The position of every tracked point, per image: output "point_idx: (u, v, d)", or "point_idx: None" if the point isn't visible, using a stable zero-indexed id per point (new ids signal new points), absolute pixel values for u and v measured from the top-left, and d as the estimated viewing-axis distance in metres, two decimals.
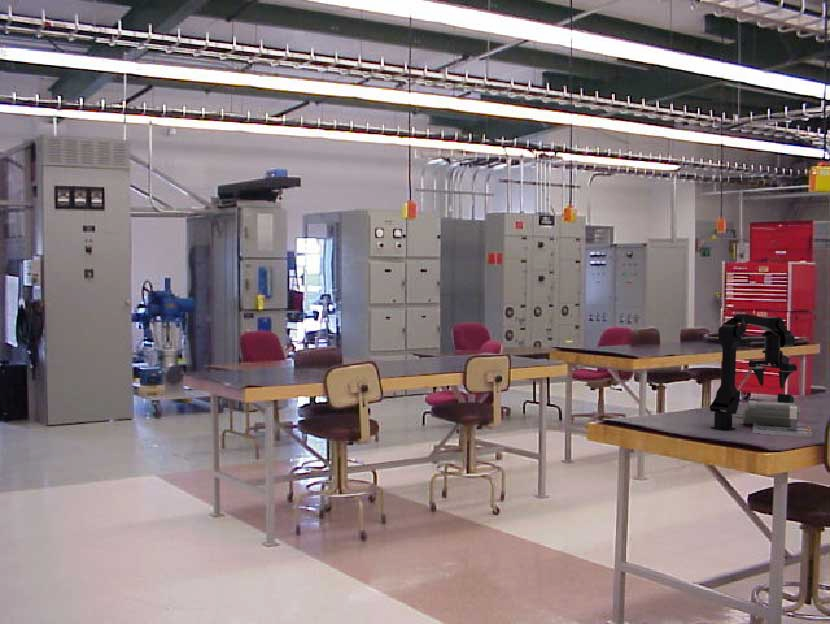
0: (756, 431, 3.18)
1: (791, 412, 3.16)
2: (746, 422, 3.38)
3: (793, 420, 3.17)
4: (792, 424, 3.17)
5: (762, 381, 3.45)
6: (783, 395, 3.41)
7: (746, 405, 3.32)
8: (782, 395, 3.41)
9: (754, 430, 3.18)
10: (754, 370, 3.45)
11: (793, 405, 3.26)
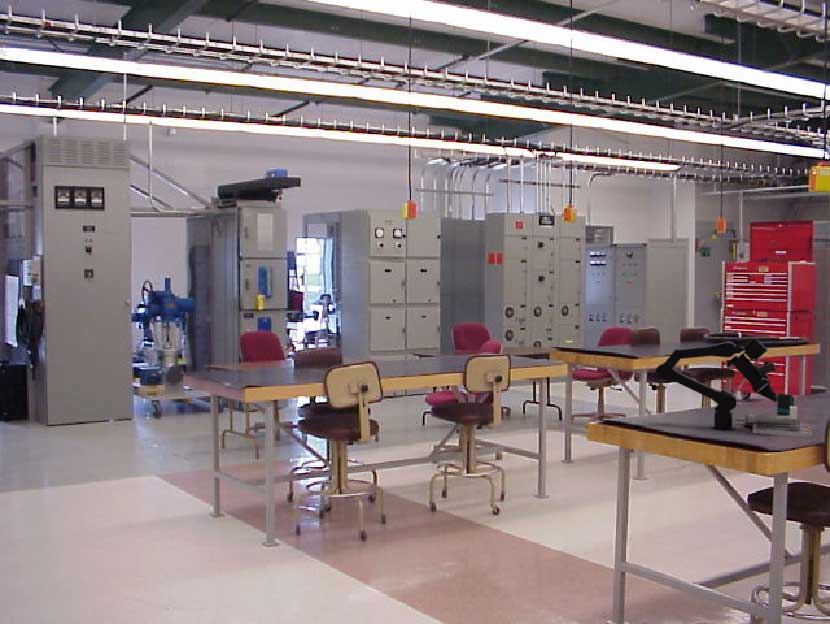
0: (756, 431, 3.18)
1: (791, 412, 3.16)
2: None
3: (793, 420, 3.17)
4: (792, 424, 3.17)
5: (773, 394, 3.24)
6: (783, 395, 3.41)
7: (746, 417, 3.30)
8: (782, 395, 3.41)
9: (754, 430, 3.18)
10: None
11: None
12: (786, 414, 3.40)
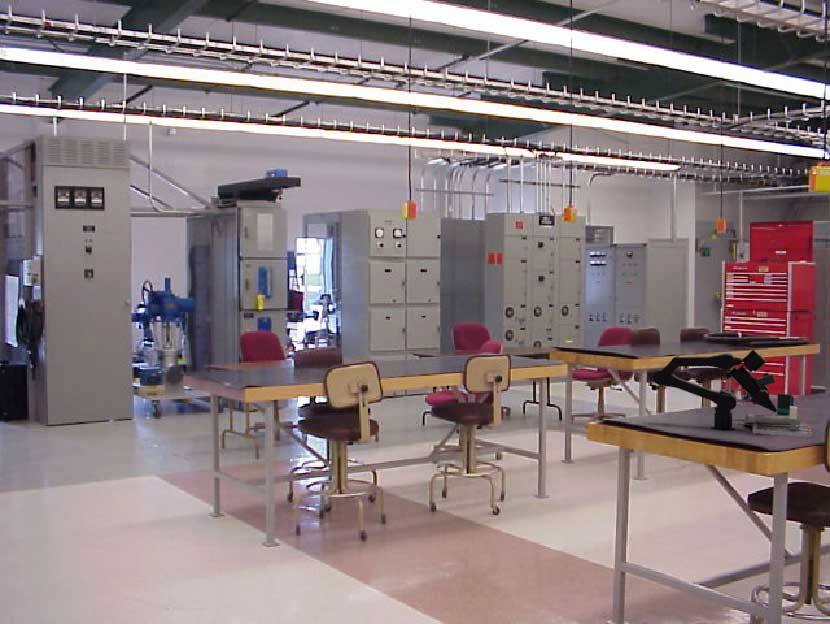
0: (756, 431, 3.18)
1: (791, 412, 3.16)
2: None
3: (793, 420, 3.17)
4: (792, 424, 3.17)
5: None
6: (783, 395, 3.41)
7: (746, 417, 3.30)
8: (782, 395, 3.41)
9: (754, 430, 3.18)
10: None
11: None
12: (786, 414, 3.40)
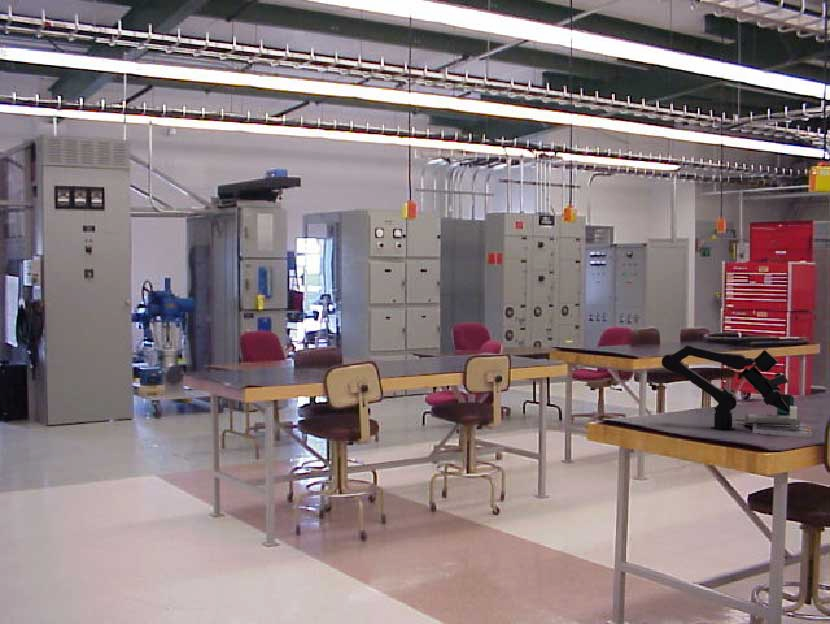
0: (756, 431, 3.18)
1: (791, 412, 3.16)
2: None
3: (793, 420, 3.17)
4: (792, 424, 3.17)
5: None
6: (783, 395, 3.41)
7: (746, 417, 3.30)
8: (782, 395, 3.41)
9: (754, 430, 3.18)
10: None
11: None
12: (786, 414, 3.40)
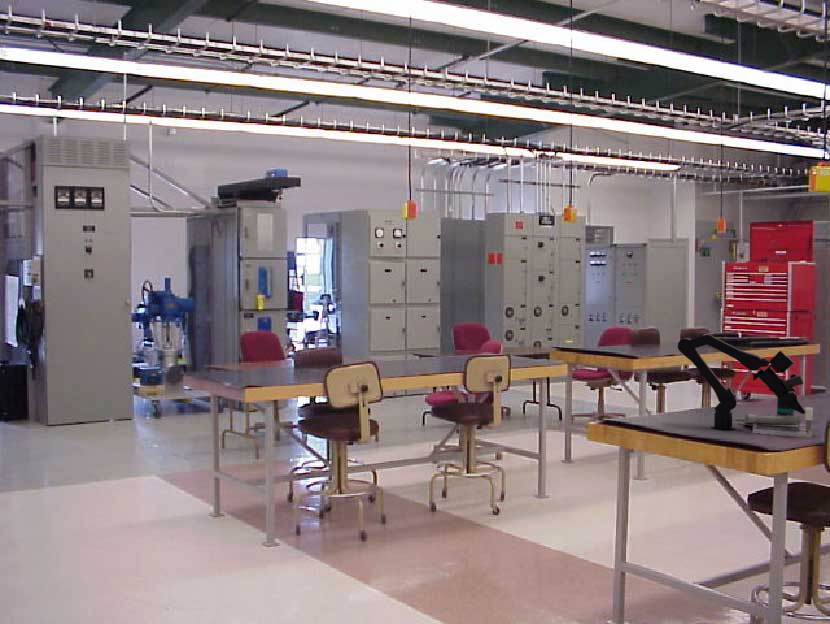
0: (756, 431, 3.18)
1: (807, 413, 3.14)
2: None
3: (809, 421, 3.15)
4: (808, 425, 3.15)
5: None
6: None
7: (746, 417, 3.30)
8: None
9: (754, 430, 3.18)
10: None
11: (794, 420, 3.22)
12: (786, 414, 3.40)
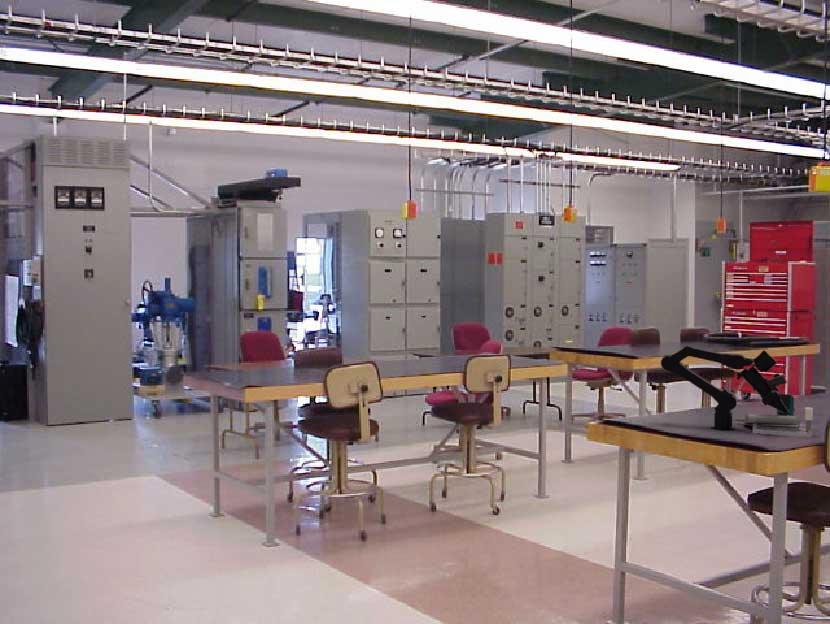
0: (756, 431, 3.18)
1: (807, 413, 3.14)
2: None
3: (809, 421, 3.15)
4: (808, 425, 3.15)
5: None
6: (783, 395, 3.41)
7: (746, 417, 3.30)
8: (782, 395, 3.41)
9: (754, 430, 3.18)
10: None
11: (794, 420, 3.22)
12: (786, 414, 3.40)
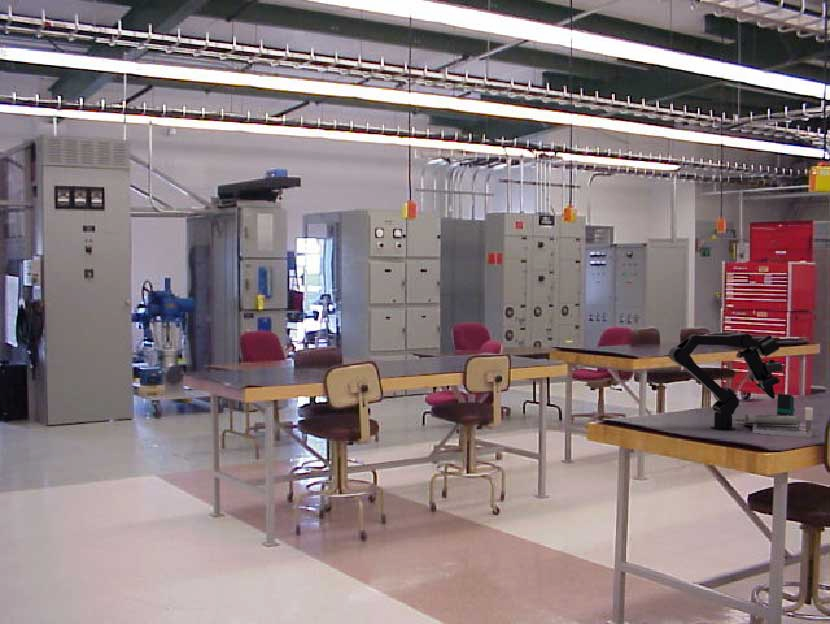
0: (756, 431, 3.18)
1: (807, 413, 3.14)
2: None
3: (809, 421, 3.15)
4: (808, 425, 3.15)
5: None
6: (783, 395, 3.41)
7: (746, 417, 3.30)
8: (782, 395, 3.41)
9: (754, 430, 3.18)
10: (758, 386, 3.29)
11: (794, 420, 3.22)
12: (786, 414, 3.40)
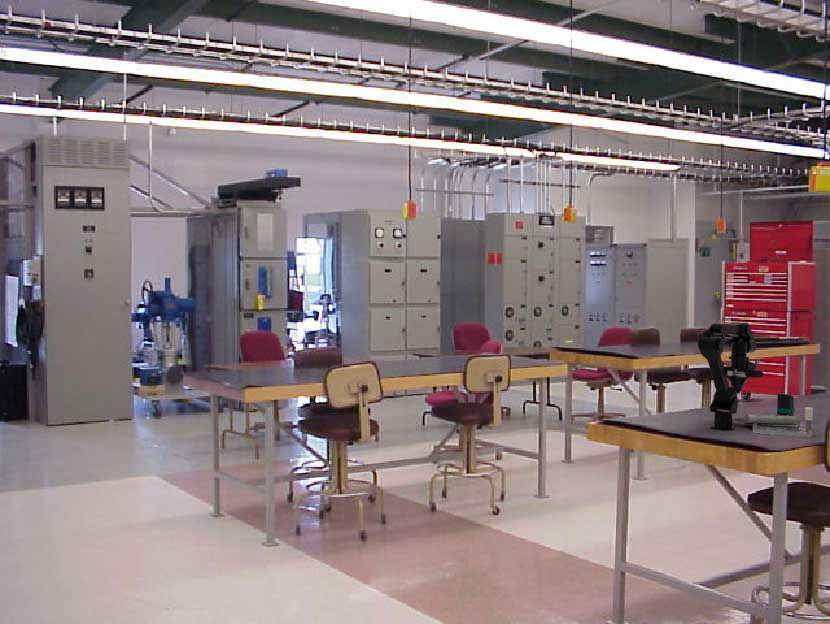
0: (756, 431, 3.18)
1: (807, 413, 3.14)
2: None
3: (809, 421, 3.15)
4: (808, 425, 3.15)
5: None
6: (783, 395, 3.41)
7: (746, 417, 3.30)
8: (782, 395, 3.41)
9: (754, 430, 3.18)
10: (729, 377, 3.36)
11: (794, 420, 3.22)
12: (786, 414, 3.40)
